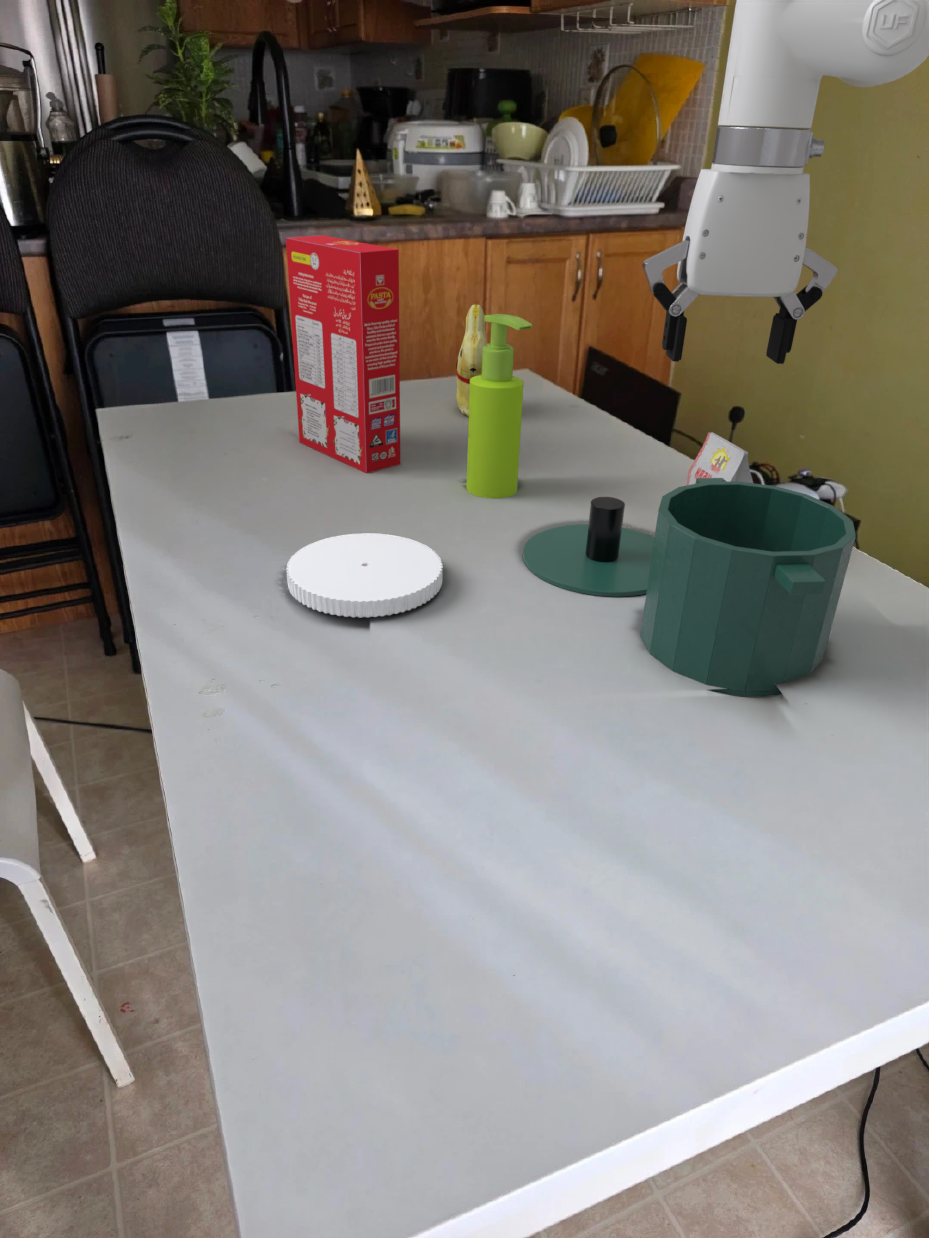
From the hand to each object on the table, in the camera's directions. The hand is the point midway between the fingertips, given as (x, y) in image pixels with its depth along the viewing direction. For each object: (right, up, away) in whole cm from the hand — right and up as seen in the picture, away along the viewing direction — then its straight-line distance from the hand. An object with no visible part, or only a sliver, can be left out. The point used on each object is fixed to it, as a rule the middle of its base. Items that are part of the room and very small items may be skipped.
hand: (723, 359), depth 83 cm
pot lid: (-11, -19, +4) cm, 22 cm away
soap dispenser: (-21, -10, +20) cm, 31 cm away
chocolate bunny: (-22, +7, +49) cm, 55 cm away
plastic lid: (-33, -22, -2) cm, 40 cm away
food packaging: (-39, -3, +31) cm, 50 cm away
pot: (-2, -27, -9) cm, 28 cm away
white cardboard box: (+2, -15, +12) cm, 20 cm away
